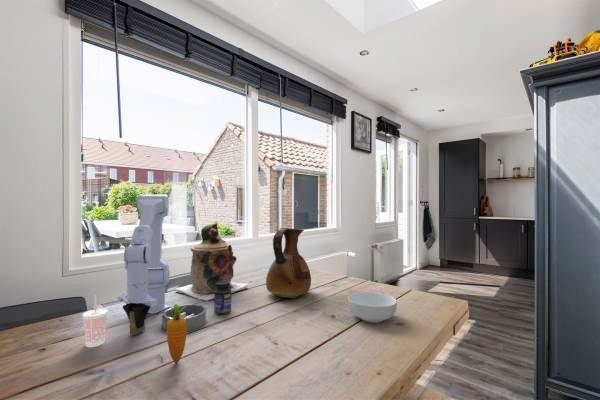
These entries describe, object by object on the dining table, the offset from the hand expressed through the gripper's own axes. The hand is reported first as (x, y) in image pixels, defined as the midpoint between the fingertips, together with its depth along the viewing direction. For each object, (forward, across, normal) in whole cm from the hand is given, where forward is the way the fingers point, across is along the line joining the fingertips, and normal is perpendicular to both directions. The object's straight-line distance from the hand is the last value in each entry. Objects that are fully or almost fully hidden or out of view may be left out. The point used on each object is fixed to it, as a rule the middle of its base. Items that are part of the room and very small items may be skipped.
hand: (137, 326), depth 94 cm
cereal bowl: (+2, +67, +39) cm, 78 cm away
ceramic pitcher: (+2, +29, +53) cm, 60 cm away
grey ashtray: (+2, +8, +12) cm, 15 cm away
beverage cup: (+2, -6, -9) cm, 11 cm away
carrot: (+2, +24, -9) cm, 26 cm away
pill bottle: (+2, +14, +25) cm, 29 cm away
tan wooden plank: (+2, 0, 0) cm, 2 cm away
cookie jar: (+3, -7, +47) cm, 47 cm away
